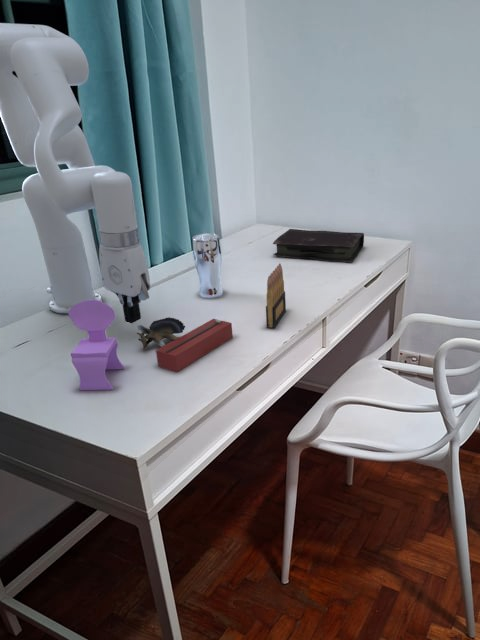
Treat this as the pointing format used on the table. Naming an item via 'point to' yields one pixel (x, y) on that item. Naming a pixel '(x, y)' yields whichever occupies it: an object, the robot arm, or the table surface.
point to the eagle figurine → (160, 331)
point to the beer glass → (208, 264)
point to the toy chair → (94, 344)
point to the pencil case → (194, 345)
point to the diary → (319, 245)
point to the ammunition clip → (275, 298)
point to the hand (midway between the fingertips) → (133, 320)
